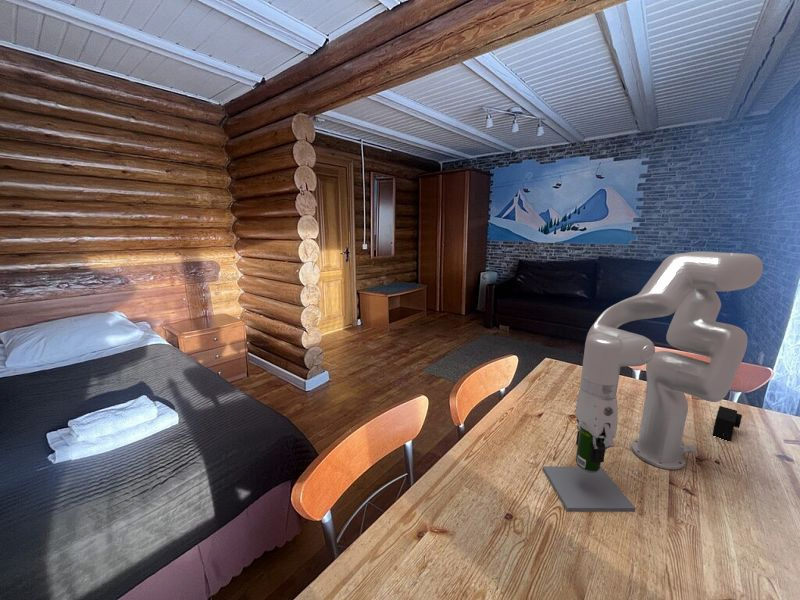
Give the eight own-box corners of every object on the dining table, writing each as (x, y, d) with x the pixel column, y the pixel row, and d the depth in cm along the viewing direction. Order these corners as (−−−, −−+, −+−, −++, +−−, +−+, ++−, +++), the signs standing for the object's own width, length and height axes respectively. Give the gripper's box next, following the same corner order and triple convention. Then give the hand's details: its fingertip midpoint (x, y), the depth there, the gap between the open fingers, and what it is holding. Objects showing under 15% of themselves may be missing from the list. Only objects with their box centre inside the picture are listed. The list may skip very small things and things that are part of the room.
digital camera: (735, 444, 102) (740, 424, 101) (711, 436, 106) (716, 416, 105) (738, 431, 109) (742, 411, 107) (715, 424, 113) (719, 405, 111)
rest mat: (600, 469, 92) (600, 466, 91) (635, 511, 78) (635, 508, 78) (542, 469, 92) (542, 466, 91) (566, 511, 78) (567, 507, 78)
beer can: (592, 477, 80) (599, 432, 77) (570, 464, 84) (576, 421, 82) (603, 468, 83) (610, 425, 80) (582, 456, 87) (587, 415, 84)
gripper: (639, 404, 70) (627, 478, 74) (593, 371, 87) (585, 432, 91) (604, 404, 70) (593, 478, 74) (565, 371, 87) (558, 432, 91)
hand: (589, 452), depth 82 cm, fingers closed on beer can, 5 cm apart
